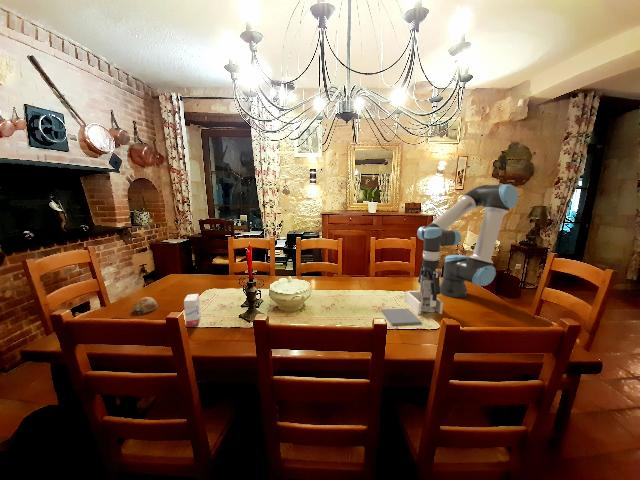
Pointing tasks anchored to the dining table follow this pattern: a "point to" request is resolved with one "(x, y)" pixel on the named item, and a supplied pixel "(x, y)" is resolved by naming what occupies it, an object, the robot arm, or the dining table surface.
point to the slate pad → (400, 316)
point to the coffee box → (425, 294)
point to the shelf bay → (414, 303)
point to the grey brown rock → (145, 305)
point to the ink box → (192, 309)
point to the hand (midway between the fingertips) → (427, 301)
